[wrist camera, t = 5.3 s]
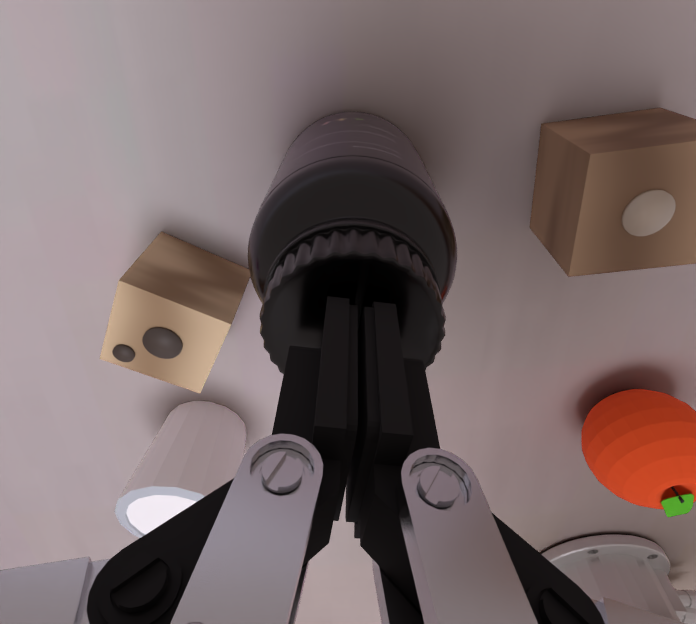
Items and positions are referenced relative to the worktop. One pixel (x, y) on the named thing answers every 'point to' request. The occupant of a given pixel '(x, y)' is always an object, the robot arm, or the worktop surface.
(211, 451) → the white cylinder with rim
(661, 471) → the clementine
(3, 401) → the worktop surface
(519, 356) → the worktop surface
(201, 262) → the oak block
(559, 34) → the worktop surface
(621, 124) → the walnut block
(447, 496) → the robot arm
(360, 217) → the supplement bottle
